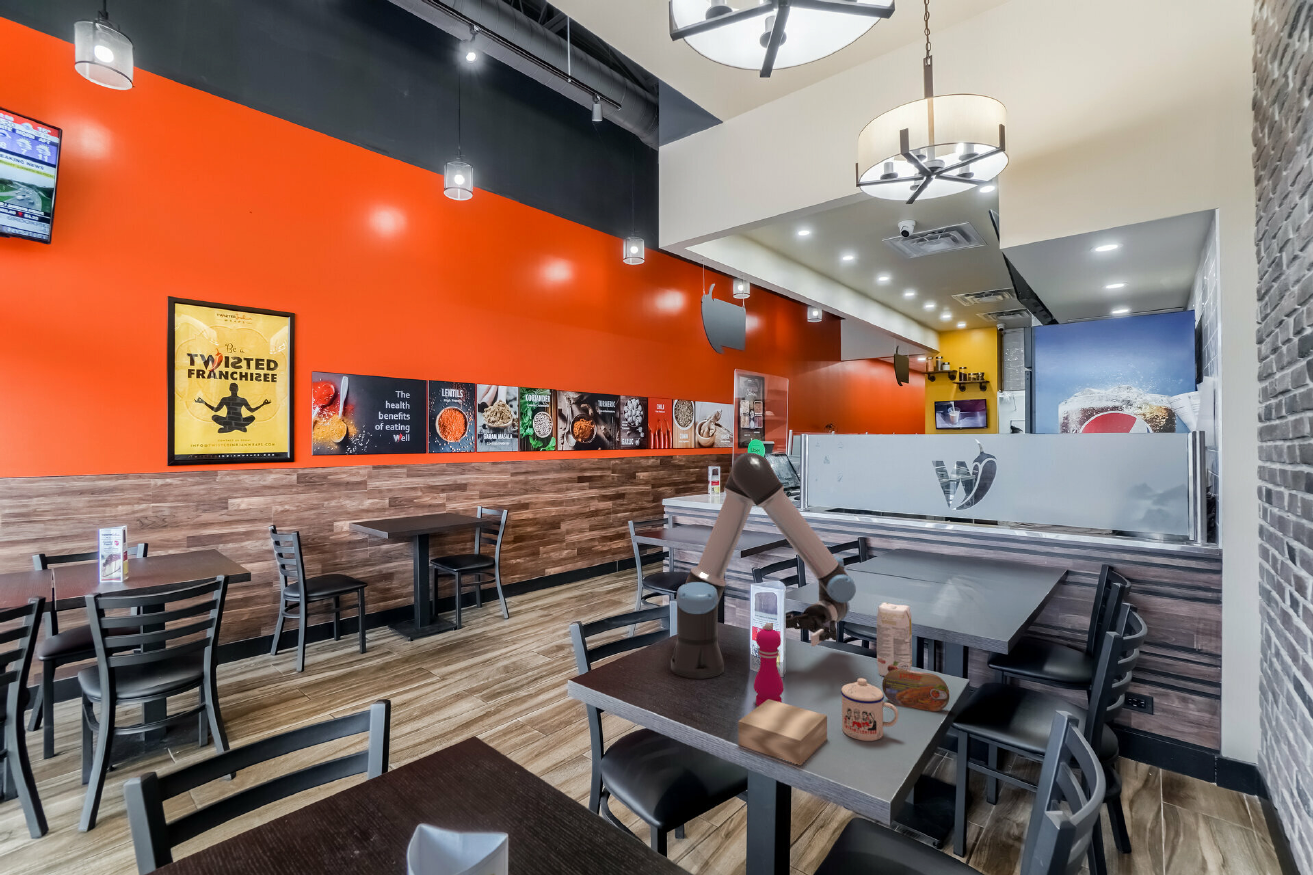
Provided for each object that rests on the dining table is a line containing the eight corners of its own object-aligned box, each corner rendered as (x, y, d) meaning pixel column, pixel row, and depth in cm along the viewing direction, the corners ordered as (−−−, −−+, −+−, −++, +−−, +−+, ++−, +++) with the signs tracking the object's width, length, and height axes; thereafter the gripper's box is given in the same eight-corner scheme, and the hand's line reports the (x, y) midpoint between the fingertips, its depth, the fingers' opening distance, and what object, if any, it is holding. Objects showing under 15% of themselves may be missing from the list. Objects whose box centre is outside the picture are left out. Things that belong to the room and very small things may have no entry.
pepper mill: (784, 700, 149) (784, 619, 150) (782, 712, 142) (782, 628, 143) (755, 696, 151) (755, 617, 152) (752, 708, 144) (751, 625, 145)
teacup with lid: (838, 736, 130) (837, 683, 131) (844, 719, 139) (843, 669, 139) (897, 748, 125) (896, 692, 125) (899, 730, 133) (899, 677, 134)
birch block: (738, 744, 127) (738, 720, 127) (768, 720, 138) (768, 698, 138) (800, 765, 118) (800, 740, 118) (827, 738, 129) (826, 715, 130)
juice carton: (908, 681, 161) (908, 611, 161) (875, 675, 165) (875, 606, 166) (913, 672, 167) (912, 605, 168) (881, 667, 172) (880, 600, 172)
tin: (882, 702, 148) (881, 668, 148) (883, 697, 151) (883, 664, 151) (949, 715, 141) (949, 679, 141) (949, 709, 144) (949, 674, 144)
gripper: (863, 637, 164) (834, 660, 147) (779, 623, 179) (745, 642, 162) (862, 610, 164) (834, 629, 147) (779, 598, 179) (744, 614, 162)
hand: (787, 636), depth 155 cm, fingers open, 13 cm apart
